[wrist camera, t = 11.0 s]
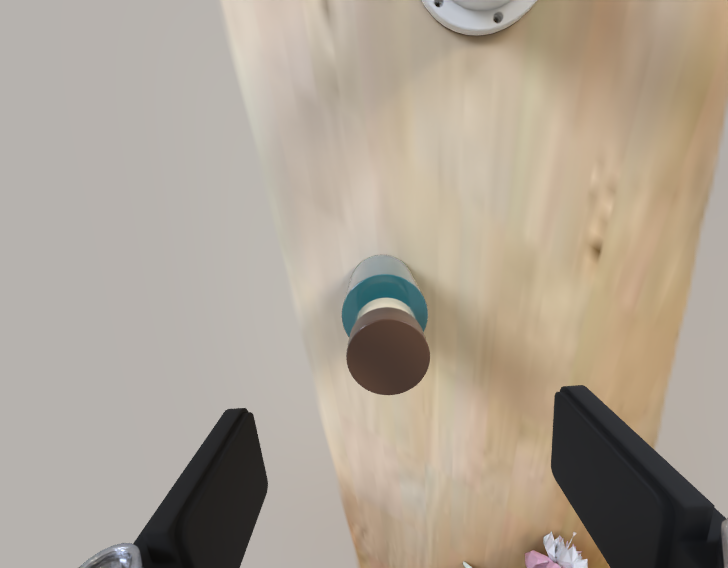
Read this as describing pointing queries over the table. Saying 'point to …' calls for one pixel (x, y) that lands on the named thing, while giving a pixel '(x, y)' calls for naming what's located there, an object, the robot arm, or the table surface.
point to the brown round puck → (387, 351)
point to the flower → (553, 555)
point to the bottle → (382, 291)
